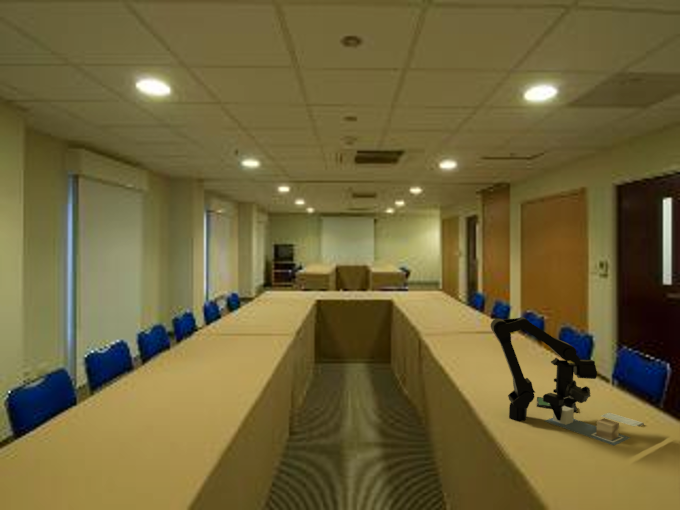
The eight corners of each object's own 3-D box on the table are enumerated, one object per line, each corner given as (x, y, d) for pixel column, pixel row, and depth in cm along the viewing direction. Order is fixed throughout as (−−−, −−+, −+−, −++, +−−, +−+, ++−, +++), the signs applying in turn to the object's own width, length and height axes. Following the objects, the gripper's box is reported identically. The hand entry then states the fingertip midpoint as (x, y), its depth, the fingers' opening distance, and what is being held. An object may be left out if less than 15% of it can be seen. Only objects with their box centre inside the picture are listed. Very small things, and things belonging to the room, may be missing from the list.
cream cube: (565, 424, 175) (566, 411, 174) (552, 420, 179) (553, 407, 178) (573, 422, 177) (573, 408, 177) (560, 417, 182) (560, 404, 181)
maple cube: (611, 440, 162) (611, 425, 161) (596, 435, 166) (596, 421, 165) (618, 437, 164) (619, 422, 164) (603, 432, 168) (604, 418, 168)
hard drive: (599, 416, 184) (634, 426, 174) (609, 412, 189) (643, 422, 179) (599, 420, 185) (633, 431, 174) (609, 416, 189) (643, 426, 179)
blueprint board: (613, 448, 157) (614, 445, 157) (543, 423, 178) (543, 420, 178) (630, 440, 164) (630, 437, 164) (561, 417, 185) (561, 414, 185)
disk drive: (575, 408, 197) (536, 402, 203) (575, 401, 197) (536, 396, 203) (577, 416, 188) (536, 410, 193) (577, 409, 188) (536, 403, 193)
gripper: (572, 386, 166) (570, 431, 166) (599, 378, 176) (597, 420, 177) (542, 378, 175) (541, 420, 175) (570, 371, 185) (568, 411, 186)
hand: (563, 418), depth 178 cm, fingers open, 6 cm apart
